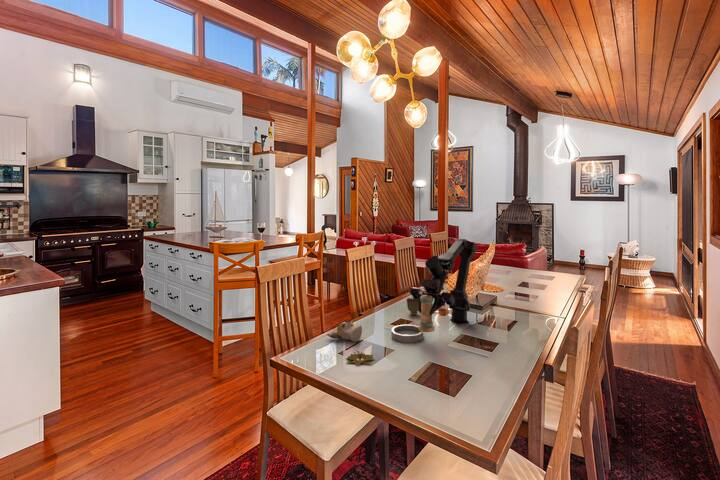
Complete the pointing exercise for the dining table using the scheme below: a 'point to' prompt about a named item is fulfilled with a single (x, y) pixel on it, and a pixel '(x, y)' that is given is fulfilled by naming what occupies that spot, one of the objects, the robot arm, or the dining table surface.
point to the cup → (413, 306)
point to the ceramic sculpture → (347, 332)
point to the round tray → (407, 333)
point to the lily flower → (359, 356)
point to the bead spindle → (426, 314)
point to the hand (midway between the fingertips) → (424, 313)
